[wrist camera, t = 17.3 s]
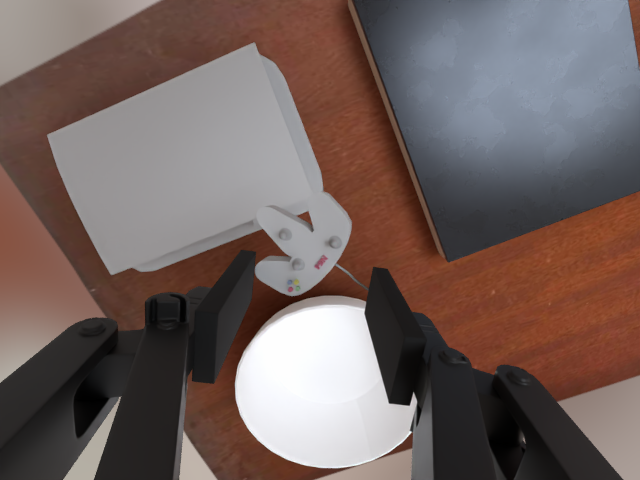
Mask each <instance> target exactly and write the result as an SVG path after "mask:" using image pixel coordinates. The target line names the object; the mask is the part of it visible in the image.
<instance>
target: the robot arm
mask: <svg viewBox="0 0 640 480" xmlns="http://www.w3.org/2000/svg"><path fill="white" fill-rule="evenodd" d="M255 257H256V252H254V251H246V250H241V251H240V252H239V254H238V255H237V256H236V258H235V259H234V260H233V261H232V263H231V264H230V265H229V267H228V268H227V269H226V271H225V272H224V273H223V275H222V276H221V277H220V278H219V280H218V281H217V282H216V284H215V285H214V286H213V288H208V287H200V286H198V287H196V288H194V289H192V290H190V291H189V292H188V293H187V294H186V295H184V294H180V293H173V292H168V293H160V294H156V295H153V296H151V297H149V298H148V299H147V300H146V301H145V327H144V329H141V330H131V331H118V325H117V322H116V321H114V320H112V319H108V318H92V319H91V318H90V319H85V320H83V321H80V322H78V323H75V324H74V325H72V326H70V327H69V328H68V329H66V330H65V331H64V332H63V333H61V334H60V335H59V336H58V337H56V338H55V339H54V340H53V341H51V342H50V343H49V344H48V345H47V346H45V347H44V348H43V349H42V350H40V351H39V352H38V353H37V354H35V355H34V356H33V357H32V358H30V359H29V360H28V361H27V362H26V363H25V364H23V365H22V366H21V367H19V368H18V369H17V370H16V371H14V372H13V373H12V374H11V375H9V376H8V377H7V378H6V379H5V380H3V381H2V382H1V383H0V480H63V479H64V477H65V476H66V474H67V473H68V472H69V470H70V469H71V467H72V466H73V464H74V463H75V462H76V460H77V459H78V457H79V456H80V454H81V453H82V451H83V450H84V449H85V447H86V446H87V444H88V443H89V441H90V440H91V438H92V437H93V436H94V434H95V433H96V431H97V430H98V428H99V427H100V425H101V424H102V422H103V421H104V420H105V418H106V417H107V415H108V414H109V412H110V411H111V409H112V408H113V407H114V405H115V404H116V402H117V401H118V399H119V397H121V396H122V397H121V400H120V403H119V406H118V409H117V412H116V415H115V418H114V421H113V424H112V427H111V430H110V433H109V436H108V439H107V442H106V445H105V448H104V451H103V454H102V457H101V460H100V463H99V466H98V469H97V472H96V475H95V478H94V480H179V475H180V463H181V452H182V440H183V428H184V417H185V405H186V394H187V377H188V375H189V374H190V372H191V370H192V381H194V382H203V383H212V384H214V383H215V380H216V378H217V376H218V374H219V371H220V369H221V367H222V365H223V363H224V360H225V358H226V356H227V354H228V351H229V349H230V347H231V345H232V342H233V340H234V338H235V336H236V333H237V331H238V329H239V327H240V324H241V322H242V320H243V318H244V315H245V313H246V311H247V309H248V306H249V304H250V302H251V300H252V291H253V279H254V268H255ZM364 314H365V318H366V322H367V325H368V329H369V333H370V336H371V340H372V343H373V347H374V351H375V354H376V358H377V362H378V365H379V369H380V373H381V376H382V380H383V384H384V387H385V391H386V395H387V398H388V402H389V404H397V405H406V406H410V404H411V400H412V396H413V392H414V395H415V397H416V400H417V405H416V408H415V412H414V416H413V420H412V424H411V427H410V431H411V432H413V450H412V471H411V480H623V479H622V478H621V477H620V475H619V474H618V473H617V472H616V471H615V470H614V468H613V467H612V466H611V465H610V464H609V463H608V461H607V460H606V459H605V458H604V457H603V456H602V454H601V453H600V452H599V451H598V450H597V448H596V447H595V446H594V445H593V444H592V443H591V441H590V440H589V439H588V438H587V437H586V436H585V435H584V434H583V432H582V431H581V430H580V429H579V427H578V426H577V425H576V424H575V423H574V422H573V420H572V419H571V418H570V417H569V416H568V415H567V414H566V412H565V411H564V410H563V409H562V408H561V406H560V405H559V404H558V403H557V402H556V400H555V399H554V398H553V397H552V396H551V395H550V393H549V392H548V391H547V390H546V389H545V388H544V386H543V385H542V384H541V383H540V382H539V381H538V380H537V379H536V378H535V377H534V376H533V375H531V374H529V373H528V372H527V371H525V370H523V369H520V368H519V367H514V366H510V365H500V366H498V367H497V369H496V372H495V375H492V374H489V373H486V372H483V371H479V370H476V369H474V368H472V366H471V363H470V361H469V359H468V358H467V357H466V356H465V355H464V354H462V353H460V352H459V351H457V350H455V349H452V348H449V347H448V346H447V344H446V343H445V341H444V339H443V338H442V336H441V335H440V334H439V332H438V330H437V329H436V328H435V326H434V324H433V323H432V321H431V320H430V319H429V318H428V317H426V316H425V315H424V314H422V313H415V312H412V311H411V310H410V308H409V306H408V304H407V303H406V301H405V299H404V297H403V296H402V294H401V292H400V290H399V289H398V287H397V285H396V283H395V281H394V280H393V278H392V276H391V274H390V273H389V271H388V269H384V268H377V267H373V271H372V276H371V281H370V286H369V291H368V296H367V302H366V307H365V312H364ZM192 368H193V369H192ZM523 438H525V442H526V444H525V443H524V441H523Z"/></svg>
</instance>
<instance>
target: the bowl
mask: <svg viewBox="0 0 640 480" xmlns="http://www.w3.org/2000/svg"><path fill="white" fill-rule="evenodd" d="M365 307H366V302H365V301H363V300H360V299H356V298H351V297H346V296H319V297H313V298H307V299H304V300H302V301H299V302H296V303H293V304H291V305H289V306H287V307H286V308H284V309H282V310H281V311H279V312H277V313H276V314H275V315H273V316H272V317H271V318H270V319H269V320H268V321H267V322H266V323H265V324H264V325H263V326H262V327H261V329H260V330H259V331H258V332H257V334H256V335H255V336H254V338H253V339H252V341H251V342H250V343H249V345H248V346H247V347H246V349H245V350H244V352H243V355H242V357H241V360H240V362H239V364H238V367H237V373H236V379H235V393H236V402H237V405H238V408H239V412H240V415H241V417H242V419H243V420H244V422H245V424H246V426H247V428H248V429H249V430H250V432H251V433H252V434H253V435H254V436H255V437H256V438H257V440H258V441H259V442H261V443H262V444H263V445H264V446H266V447H267V448H268V449H270V450H271V451H272V452H274V453H276V454H278V455H280V456H281V457H283V458H285V459H287V460H290V461H293V462H296V463H299V464H302V465H307V466H313V467H319V468H342V467H349V466H356V465H359V464H362V463H366V462H369V461H372V460H374V459H376V458H378V457H380V456H382V455H384V454H386V453H388V452H390V451H391V450H393V449H394V448H395V447H397V446H398V445H399V444H401V443H402V442H403V441H404V440H405V439H406V438H407V437H408V436H409V435H410V434H411V433H412V432H411V431H410V427H411V424H412V420H413V416H414V412H415V408H416V405H417V400H416V397H415V395H414V392H413V396H412V400H411V404H410V406H406V405H397V404H389V402H388V398H387V395H386V391H385V387H384V384H383V380H382V376H381V373H380V369H379V365H378V362H377V358H376V354H375V351H374V347H373V343H372V340H371V336H370V333H369V329H368V325H367V322H366V318H365V314H364V312H365Z"/></svg>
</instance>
